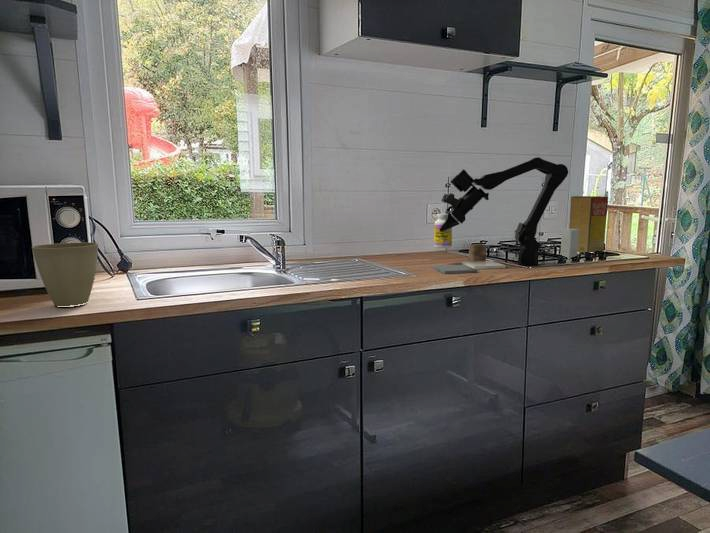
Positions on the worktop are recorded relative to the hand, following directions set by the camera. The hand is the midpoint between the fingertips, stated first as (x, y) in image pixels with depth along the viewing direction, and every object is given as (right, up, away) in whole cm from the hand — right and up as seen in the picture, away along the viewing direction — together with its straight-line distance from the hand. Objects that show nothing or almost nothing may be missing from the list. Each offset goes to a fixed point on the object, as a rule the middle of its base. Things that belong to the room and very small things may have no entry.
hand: (439, 230), depth 189 cm
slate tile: (+3, -15, -12) cm, 20 cm away
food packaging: (+71, -8, +31) cm, 78 cm away
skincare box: (+56, -11, +13) cm, 58 cm away
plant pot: (-107, -24, -59) cm, 125 cm away
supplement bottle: (+1, -7, +1) cm, 7 cm away
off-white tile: (+16, -14, -3) cm, 21 cm away
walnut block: (+16, -12, +7) cm, 21 cm away
